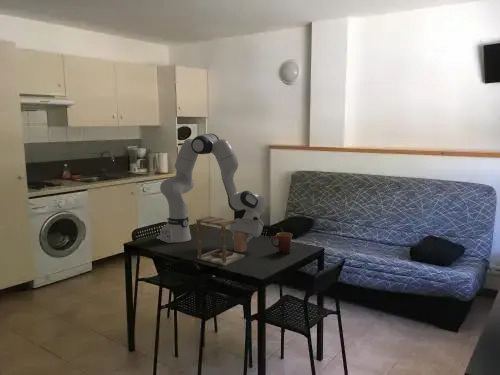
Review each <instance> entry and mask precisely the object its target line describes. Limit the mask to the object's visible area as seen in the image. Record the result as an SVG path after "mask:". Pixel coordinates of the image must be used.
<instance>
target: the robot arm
mask: <svg viewBox="0 0 500 375" xmlns="http://www.w3.org/2000/svg"><path fill="white" fill-rule="evenodd" d="M208 154H212V155H213V156H214V157H215V160H216V161H217V165H218V166H219V170H220V174H221V176H220V177H221V180H222V183H223V185H224V189H225V191H226V196H227V202H228V203H227V204H228V206H229V208H230V209H231V210H232V211H233V212H241V211H243V210H245V212H244V214H243V216H242V217H241V218H240V217H237V218H235V219H234V221H236V223H234V224H231V225H229V228H228V229H229V231H230V232H231V233H232V235H231V239H232V240H233V241H234V233H237V232H244V233H246V236H248V237H246V239H245V242H247V243H249V241H250V240H252V239H253V237H255V238H259V237H260V236H261V234H262V232H263V230H264V229H263V228H264V226H265V223H264V222H263V220H262V219H261V218H260V217H261V215H262V214H263V212H264V210H265V207H266V205H267V199H266V197H265V196H264V195H262V194H260V193H253V192H251V191H249V190H244V191H240V192H238V189H237V187H236V183H235V181H234V175H235V174H236V172H237V170H238V168H239V159H238V157H237V155H236V154H235V151H234V148H233V146H232V145H231V144H230V142H229V141H228V140H227V139H223V138H222V139H220V138H219V136H218V135H216V134H215V133H203V134H201V135H197V136H196V137H193V138H186V139H185V140H184V142H182V145H181V147H180V148H179V152H178V154H177V157H176V160H175V163H174V168H175V170H176V172H175V173H176V174H175V176H174V177H170V178H166V179H164V180H163V181H162V182H161V183H160V185H159V189H160V192H161V194H162V195H163V196H164V197H165V199H166V201H167V204H168V213H169V215H168V216H169V217H166V221H167V223H166V224H165V225H164V226H162V227H161V229H160V231H159V232H160V235H157V236H156V240H159V239H160V240H159V241H162V242H165V243H167V244H171V243H172V244H173V243H185V242H189V241H191V240H192V234H191V231H190V225H189V220H190V219H189V215H188V203H187V202H185V200H184V198H183V194H187V193H189V192H190V191H191V190H192V189H193V188H194V184H195V183H194V180H193V171H194V168H195V165H196V161H197V160H198V159H197V158H198V156H199V155H208Z"/></svg>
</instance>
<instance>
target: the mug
mask: <svg viewBox="0 0 500 375" xmlns="http://www.w3.org/2000/svg"><path fill="white" fill-rule="evenodd" d="M274 238H276V239H277V244H274V240H273V239H274ZM292 238H293V233H291V232H286V231H285V232H284V231H283V232H277V233H276V235H273V236H271V237H270V244H271V245H272V247H275V248H277V251H278V252H277V253H279V254H280V255H281V254H282V255H288V254H290V253H291V252H292Z"/></svg>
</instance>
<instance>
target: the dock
mask: <svg viewBox="0 0 500 375" xmlns="http://www.w3.org/2000/svg"><path fill="white" fill-rule="evenodd" d="M234 220H235V219H234ZM234 220H233V219H229V218H221V217H215V216H209V215H208V216H204V217H200V218H197V219H196V218H195V221H196V239H197V242H196V243H197V244H196V245H197V258H196V259H198V260H201V261H206V262H209V263H213V264H217V265H221V266H227V265H229V264H231V263H234V262H237V261H239V260H241V259H244V258H245V257H246V254H241V253H239V252H235V251H228V250H227V243H226V242H227V237H226V227H227V226H230V225H231V224H234V223H236V221H234ZM201 224H205V225H213V226H216V227H217V226H219V227H221V248H217V249H215V250H214V249H213V250H211V251H209V252H206V253H203V254H202V231H201V230H202V229H201V228H202V227H201Z"/></svg>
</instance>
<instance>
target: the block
mask: <svg viewBox="0 0 500 375" xmlns="http://www.w3.org/2000/svg"><path fill="white" fill-rule="evenodd" d="M246 238H247V235H246V233H244V232H237V233H234V240H233V252H236V253H243V252H246V251H247V250H248V249H247V248H248V246H247V243H248V242H245V239H246Z"/></svg>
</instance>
